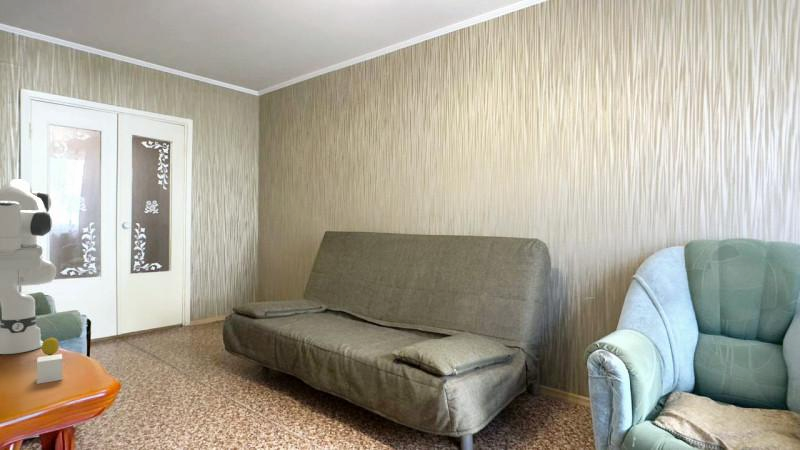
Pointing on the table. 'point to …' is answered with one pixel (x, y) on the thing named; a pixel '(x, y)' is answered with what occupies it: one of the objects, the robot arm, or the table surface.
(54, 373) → the matte ivory cube
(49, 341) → the lemon
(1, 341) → the robot arm
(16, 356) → the table surface
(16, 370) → the table surface
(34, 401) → the table surface
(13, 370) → the table surface
